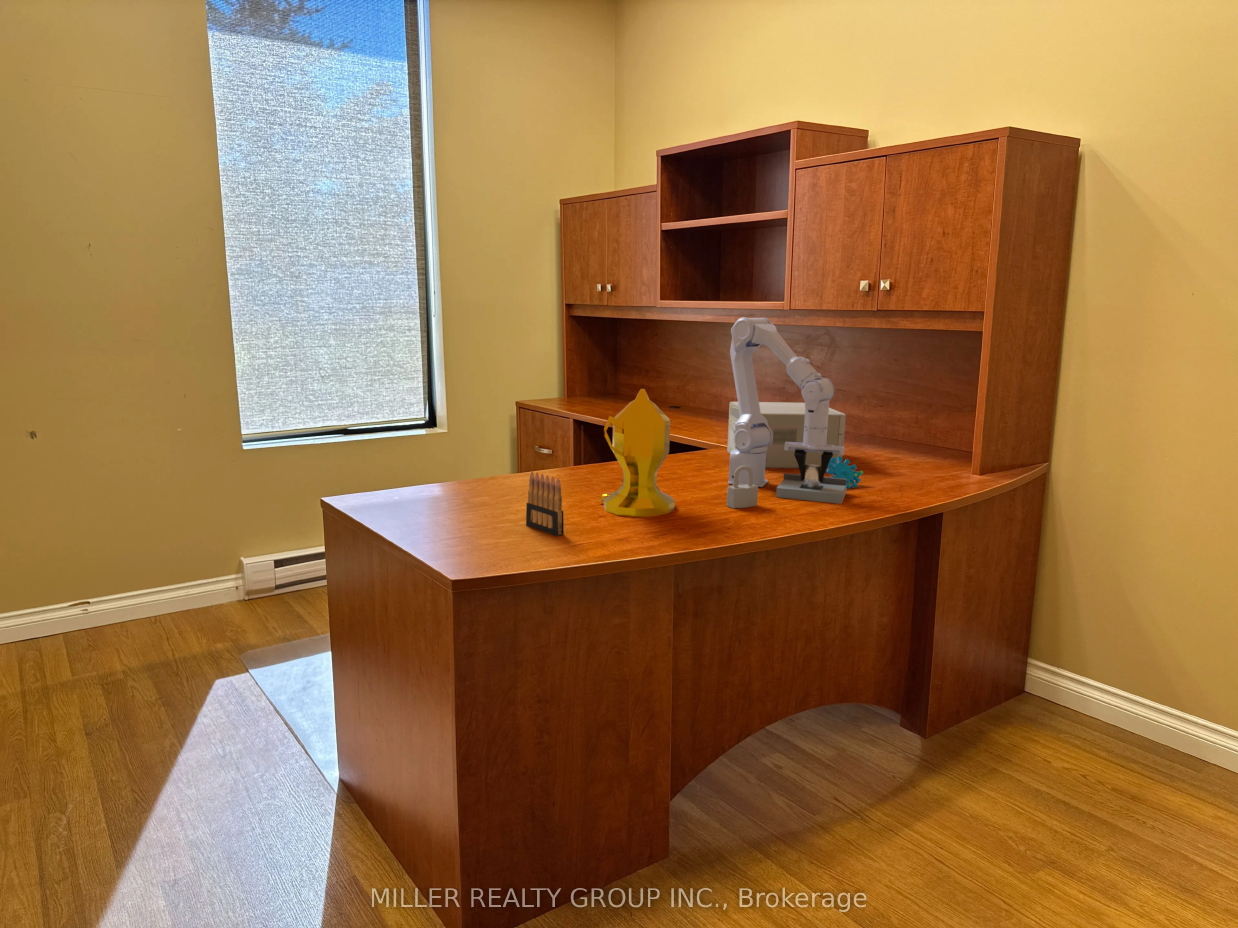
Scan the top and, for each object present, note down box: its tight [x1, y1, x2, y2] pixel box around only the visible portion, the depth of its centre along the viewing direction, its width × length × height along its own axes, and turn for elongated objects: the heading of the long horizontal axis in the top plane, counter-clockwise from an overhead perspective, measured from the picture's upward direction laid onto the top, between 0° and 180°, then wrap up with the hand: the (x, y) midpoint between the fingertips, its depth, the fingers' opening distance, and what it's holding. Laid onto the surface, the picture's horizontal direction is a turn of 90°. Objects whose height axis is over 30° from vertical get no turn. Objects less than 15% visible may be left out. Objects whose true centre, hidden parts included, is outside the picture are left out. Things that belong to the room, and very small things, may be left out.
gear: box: [826, 456, 864, 490], centre depth 230 cm, size 11×6×10 cm
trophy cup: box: [597, 388, 676, 518], centre depth 198 cm, size 18×24×28 cm
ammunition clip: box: [525, 470, 565, 537], centre depth 179 cm, size 11×2×12 cm, turn 43°
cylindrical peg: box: [803, 464, 821, 490], centre depth 215 cm, size 4×4×7 cm
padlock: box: [726, 465, 759, 509], centre depth 204 cm, size 7×4×10 cm, turn 118°
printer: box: [726, 401, 847, 469], centre depth 263 cm, size 27×29×16 cm
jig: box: [775, 472, 847, 505], centre depth 217 cm, size 16×12×4 cm
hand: (811, 480), depth 216 cm, fingers closed on cylindrical peg, 4 cm apart
